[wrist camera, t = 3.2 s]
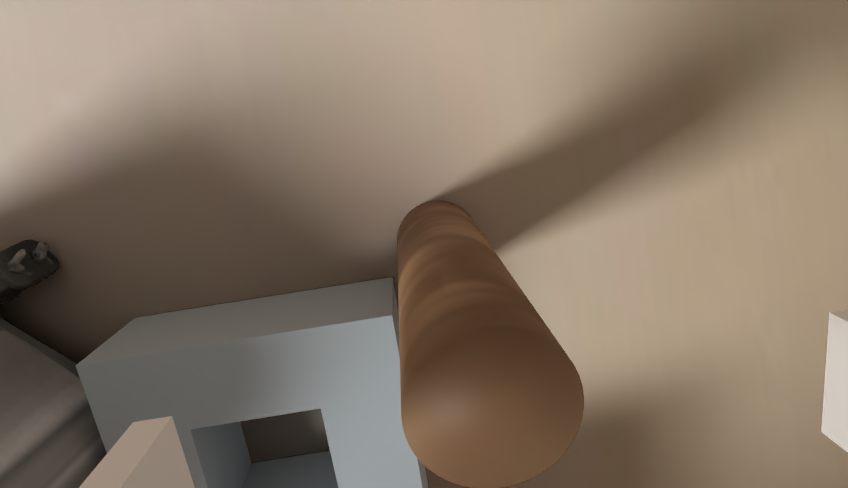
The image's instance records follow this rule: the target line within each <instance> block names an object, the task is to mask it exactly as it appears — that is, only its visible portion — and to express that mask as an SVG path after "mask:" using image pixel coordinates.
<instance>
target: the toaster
mask: <svg viewBox="0 0 848 488" xmlns="http://www.w3.org/2000/svg"><path fill="white" fill-rule="evenodd" d="M48 246H49V245H47V244H46V243H45V242H39V243H38V242H36V241H34V240H25V241H22V242H20V243H18V244H16V245H14V246H11V247H9V248H7V249H5V250H3V251H1V252H0V303H3V304H5V303H7V302H9V301H11V300H12V299H13V298H15V297H17V296H19V295H21V292H22V290H23V289H25V288H28V287H30V286H32V285H33V284H38V283H39V282H41V279H43V278H48V275H51V274H53V273H54V272H56V270H57V269H58V268H59V262H58V260H57V259H56V258H55V257H54V256H53V255H52V254H51V253H50V252H48V251H47V250H48ZM76 365H77V363H75V362H73V361H72V360H70V359H68V358H67V357H65V356H63V355H61V354H60V353H58V352H56V351H55V350H53V349H51V348H50V347H48V346H46V345H44V344H43V343H41V342H39V341H38V340H36V339H34V338H33V337H31V336H30V335H28V334H26V333H25V332H23V331H21V330H20V329H18V328H16V327H15V326H13V325H12V324H10V323H8V322H7V321H5V320H3V319H2V318H0V488H79V487H80V486H81V485H82V483H83V482H84V481H85V480H86V478H87V477H88V476H89V475H90V474H91V472H92V471H93V470H94V469H95V468H96V466H97V465H98V464H99V463H100V462H101V460H102V459H103V458H104V457H105V456H106V454H107V453H106V450H105V447H104V444H103V441H102V439H101V436H100V433H99V430H98V427H97V425H96V422H95V419H94V416H93V413H92V411H91V408H90V405H89V402H88V399H87V397H86V394H85V391H84V388H83V385H82V383H81V380H80V377H79V374H78V371H77V369H76Z"/></svg>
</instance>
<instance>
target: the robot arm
mask: <svg viewBox="0 0 848 488" xmlns="http://www.w3.org/2000/svg"><path fill="white" fill-rule="evenodd" d="M821 432H822V433H823V434H825V435H826V436H827V437H828V438H830V439H831V440H832V441H834V442H835V443H836V444H838V445H839V446H840V447H841V448H843V449H844V450H845V451H847V452H848V310H844V311H837V312H831V313H829V327H828V341H827V356H826V370H825V385H824V400H823V414H822V429H821ZM79 488H195V487H194V484H193V481H192V477H191V474H190V471H189V468H188V465H187V462H186V459H185V455H184V452H183V449H182V446H181V443H180V440H179V436H178V433H177V430H176V427H175V424H174V421H173V418H172V416H169V417H163V418H157V419H150V420H144V421H137V422H133V423H132V424H131V425H130V427H129V428H128V429H127V430H126V431H125V433H124V434H123V435H122V436H121V437H120V439H119V440H118V441H117V442H116V444H115V445H114V446H113V447H112V448H111V450H110V451H109V452H108V453H107V454H106V456H105V457H104V458H103V459H102V460H101V462H100V463H99V464H98V465H97V466H96V468H95V469H94V470H93V471H92V472H91V474H90V475H89V476H88V477H87V478H86V480H85V481H84V482H83V483H82V485H81V486H80V487H79Z"/></svg>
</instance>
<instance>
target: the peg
mask: <svg viewBox="0 0 848 488" xmlns="http://www.w3.org/2000/svg"><path fill="white" fill-rule="evenodd" d="M397 259H398V302H399V345H400V388H401V419H402V427H403V430H404V434H405V437H406V440H407V442H408V444H409V446H410V448H411V450H412V451H413V453H414V454H415V456H416V457H417V458H418V459H419V460H420V462H421V463H422V464H423V465H424V466H426V467H427V468H428V469H429V470H430V471H432V472H433V473H434V474H436V475H437V476H439V477H441V478H443V479H445V480H447V481H449V482H452V483H455V484H457V485H461V486H465V487H470V488H503V487H507V486H512V485H516V484H519V483H522V482H524V481H527V480H529V479H531V478H533V477H535V476H537V475H539V474H540V473H542V472H544V471H545V470H546V469H548V468H549V467H550V466H552V465H553V464H554V463H555V462H556V461H557V460H558V459H559V458H560V457H561V456H562V455H563V454H564V453H565V451H566V450H567V449H568V448H569V446H570V445H571V443H572V441H573V440H574V438H575V436H576V434H577V431H578V429H579V427H580V423H581V420H582V415H583V408H584V395H583V388H582V383H581V380H580V377H579V374H578V372H577V370H576V368H575V366H574V364H573V363H572V361H571V360H570V359H569V357H568V356H567V354H566V353H565V351H564V350H563V348H562V347H561V346H560V344H559V343H558V341H557V340H556V339H555V337H554V336H553V334H552V333H551V331H550V330H549V329H548V327H547V326H546V324H545V323H544V321H543V320H542V319H541V317H540V316H539V314H538V313H537V311H536V310H535V309H534V307H533V306H532V304H531V303H530V301H529V300H528V299H527V297H526V296H525V294H524V293H523V292H522V290H521V289H520V287H519V286H518V284H517V283H516V282H515V280H514V279H513V277H512V276H511V274H510V273H509V272H508V270H507V269H506V267H505V266H504V264H503V263H502V262H501V260H500V259H499V257H498V256H497V254H496V253H495V252H494V250H493V249H492V247H491V246H490V245H489V243H488V242H487V240H486V239H485V237H484V236H483V235H482V233H481V232H480V230H479V229H478V227H477V226H476V225H475V223H474V222H473V220H472V219H471V217H470V216H469V215H468V214H467V213H466V212H465V211H464V210H463V209H462V208H460V207H459V206H457V205H455V204H453V203H449V202H445V201H431V202H426V203H424V204H421V205H419V206H417V207H416V208H414V209H413V210H412V211H410V212H409V213H408V214H407V216H406V217H405V218H404V220H403V221H402V223H401V225H400V227H399V231H398V236H397Z"/></svg>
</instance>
